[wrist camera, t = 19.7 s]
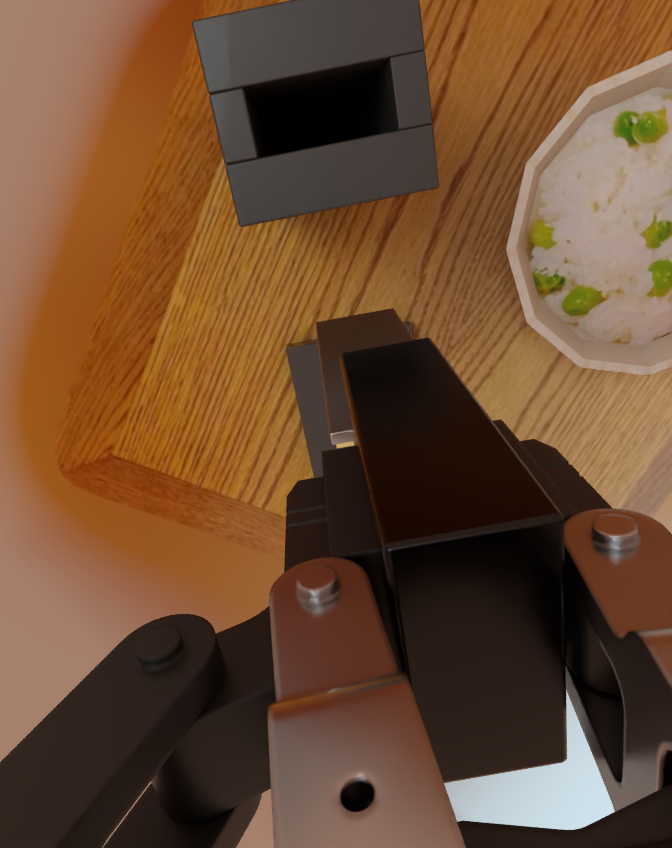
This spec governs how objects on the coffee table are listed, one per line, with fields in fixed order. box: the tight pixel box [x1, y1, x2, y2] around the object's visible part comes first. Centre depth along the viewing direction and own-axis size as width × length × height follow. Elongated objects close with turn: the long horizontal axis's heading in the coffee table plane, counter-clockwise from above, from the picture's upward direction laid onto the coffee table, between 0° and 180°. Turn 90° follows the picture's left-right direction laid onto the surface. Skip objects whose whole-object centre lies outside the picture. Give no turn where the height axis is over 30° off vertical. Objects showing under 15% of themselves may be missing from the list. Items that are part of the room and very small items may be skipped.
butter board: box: [286, 322, 414, 478], centre depth 48 cm, size 10×16×5 cm, turn 10°
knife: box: [316, 309, 567, 783], centre depth 15 cm, size 3×4×17 cm
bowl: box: [506, 50, 672, 376], centre depth 41 cm, size 19×19×10 cm
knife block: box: [192, 0, 439, 227], centre depth 32 cm, size 8×7×22 cm
